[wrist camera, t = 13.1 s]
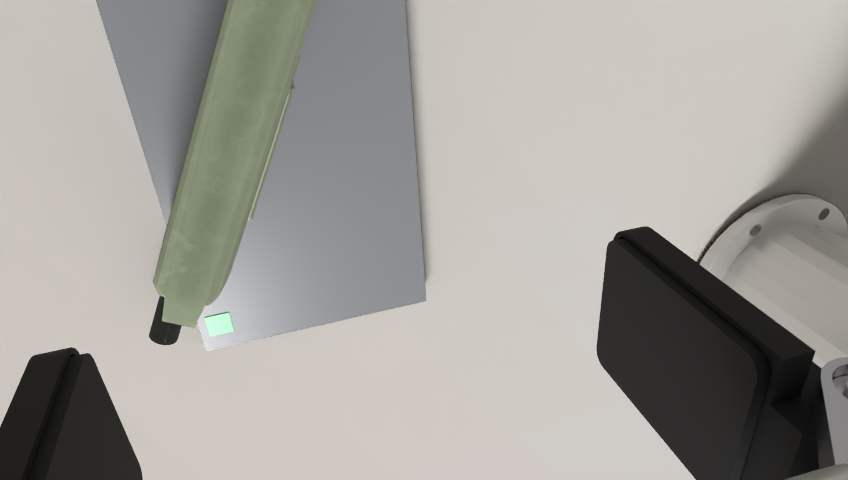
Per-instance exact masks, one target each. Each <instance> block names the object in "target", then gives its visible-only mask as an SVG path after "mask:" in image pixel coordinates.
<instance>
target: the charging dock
mask: <svg viewBox="0 0 848 480" xmlns="http://www.w3.org/2000/svg"><path fill="white" fill-rule="evenodd" d="M226 1H227V0H96V2H97V5H98V8H99V12H100V15H101V18H102V21H103V24H104V27H105V31H106V34H107V37H108V40H109V43H110V47H111V50H112V53H113V56H114V59H115V63H116V66H117V69H118V72H119V75H120V78H121V82H122V85H123V88H124V91H125V94H126V98H127V101H128V104H129V107H130V110H131V113H132V117H133V120H134V123H135V126H136V129H137V133H138V136H139V139H140V142H141V145H142V148H143V152H144V155H145V158H146V161H147V164H148V168H149V171H150V174H151V177H152V180H153V183H154V187H155V190H156V193H157V196H158V199H159V203H160V206H161V209H162V212H163V215H164V218H165V222H166V225H167V224H168V220H169V216H170V213H171V208H172V204H173V200H174V196H175V193H176V189H177V185H178V181H179V178H180V174H181V170H182V166H183V163H184V159H185V155H186V151H187V148H188V144H189V140H190V136H191V133H192V129H193V125H194V121H195V118H196V114H197V110H198V106H199V103H200V99H201V95H202V91H203V88H204V84H205V80H206V76H207V73H208V69H209V65H210V61H211V58H212V54H213V50H214V46H215V43H216V39H217V35H218V31H219V28H220V24H221V20H222V16H223V13H224V9H225V5H226ZM293 85H294V87H295V91H294V92H293V94H292V97H291V101H290V104H289V107H288V110H287V113H286V116H285V119H284V122H283V125H282V129H281V132H280V135H279V138H278V141H277V144H276V147H275V150H274V153H273V156H272V160H271V163H270V166H269V169H268V172H267V175H266V178H265V181H264V184H263V188H262V191H261V194H260V197H259V200H258V203H257V206H256V209H255V212H254V219H252V220H250V221H249V222H247V224H246V227H245V230H244V233H243V236H242V239H241V242H240V245H239V249H238V252H237V254H236V257H235V260H234V263H233V267H232V270H231V272H230V275H229V277H228V280H227V282H226V284H225V286H224V288H223V290H222V291H221V293H220V295H219V297H218V298H217V299H216V300H215V301H214V302H212V303H211V304H210V305H208V306H205V307H204V309H203V311H202V313H201V315H200V317H199V319H198V321H197V324H198V327H199V330H200V333H201V336H202V339H203V343H204V346H205V349H206V351H210V350H214V349H219V348H223V347H228V346H232V345H236V344H241V343H245V342H249V341H254V340H258V339H262V338H267V337H271V336H275V335H280V334H284V333H288V332H293V331H297V330H302V329H306V328H310V327H315V326H319V325H323V324H328V323H332V322H336V321H341V320H345V319H349V318H354V317H358V316H363V315H367V314H371V313H376V312H380V311H384V310H389V309H393V308H397V307H402V306H406V305H410V304H415V303H419V302H423V301H426V289H425V275H424V261H423V247H422V233H421V219H420V205H419V191H418V177H417V163H416V149H415V135H414V121H413V107H412V93H411V79H410V65H409V51H408V37H407V23H406V9H405V0H316V3H315V7H314V10H313V13H312V16H311V19H310V23H309V26H308V29H307V32H306V35H305V39H304V42H303V45H302V48H301V52H300V59H299V62H298V65H297V68H296V72H295V75H294V78H293Z"/></svg>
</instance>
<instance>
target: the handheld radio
mask: <svg viewBox="0 0 848 480" xmlns="http://www.w3.org/2000/svg"><path fill="white" fill-rule="evenodd" d="M315 3H316V0H227V1H226V5H225V9H224V13H223V16H222V20H221V24H220V28H219V31H218V35H217V39H216V43H215V46H214V50H213V54H212V58H211V61H210V65H209V69H208V73H207V76H206V80H205V84H204V88H203V91H202V95H201V99H200V103H199V106H198V110H197V114H196V118H195V121H194V125H193V129H192V133H191V136H190V140H189V144H188V148H187V151H186V155H185V159H184V163H183V166H182V170H181V174H180V178H179V181H178V185H177V189H176V193H175V196H174V200H173V204H172V208H171V213H170V216H169V220H168V224H167V228H166V232H165V236H164V240H163V244H162V248H161V252H160V256H159V260H158V264H157V268H156V272H155V276H154V280H153V283H154V286H155V288H156V290H157V293H158V294H159V295H160V297H159V301H158V305H157V308H156V312H155V315H154V319H153V323H152V326H151V330H150V334H149V337H150V339H151V340H152V341H153V342H155V343H157V344H161V345H171V344H174V343H175V342H176V341H177V339H178V336H179V333H180V329H181V326H182V325H183V326H187V327H192V328H195V326H196V324H197V321H198V319H199V317H200V315H201V313H202V311H203V309H204V307H205V306H208V305H210V304H211V303H212V302H214V301H215V300H216V299H217V298H218V297H219V295H220V293H221V291H222V290H223V288H224V286H225V284H226V282H227V280H228V277H229V275H230V272H231V270H232V267H233V263H234V260H235V257H236V254H237V252H238V249H239V245H240V242H241V239H242V236H243V233H244V230H245V227H246V224H247V222H249V221H250V220H252V219H254V212H255V209H256V206H257V203H258V200H259V197H260V194H261V191H262V188H263V184H264V181H265V178H266V175H267V172H268V169H269V166H270V163H271V160H272V156H273V153H274V150H275V147H276V144H277V141H278V138H279V135H280V132H281V129H282V125H283V122H284V119H285V116H286V113H287V110H288V107H289V104H290V101H291V97H292V94H293V92H294V91H295V87H294V85H293V78H294V75H295V72H296V68H297V65H298V62H299V59H300V52H301V48H302V45H303V42H304V39H305V35H306V32H307V29H308V26H309V23H310V19H311V16H312V13H313V10H314V7H315Z"/></svg>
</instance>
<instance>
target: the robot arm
mask: <svg viewBox="0 0 848 480" xmlns="http://www.w3.org/2000/svg"><path fill="white" fill-rule="evenodd" d="M597 355H598V359H599V361H600V363H601V365H602V366H603V368H604V369H605V370H606V371H607V373H608V374H609V375H610V376H611V378H612V379H613V380H614V381H615V382H616V384H617V385H618V386H619V387H620V388H621V390H622V391H623V392H624V393H625V394H626V396H627V397H628V398H629V399H630V400H631V402H632V403H633V404H634V405H635V407H636V408H637V409H638V410H639V411H640V413H641V414H642V415H643V416H644V417H645V419H646V420H647V421H648V422H649V423H650V425H651V426H652V427H653V428H654V429H655V431H656V432H657V433H658V434H659V435H660V437H661V438H662V439H663V440H664V442H665V443H666V444H667V445H668V446H669V448H670V449H671V450H672V451H673V452H674V454H675V455H676V456H677V457H678V458H679V460H680V461H681V462H682V463H683V464H684V466H685V467H686V468H687V469H688V471H689V472H690V473H691V474H692V475H693V477H694V478H695V479H696V480H848V227H847V222H846V220H845V218H844V216H843V215H842V213H841V211H839V210H838V209H837V208H836V207H835V206H834V205H833V204H831V203H829V202H827V201H824V200H822V199H820V198H818V197H815V196H811V195H807V194H791V195H787V196H782V197H778V198H775V199H773V200H770V201H768V202H765V203H763V204H761V205H759V206H757V207H756V208H754V209H752V210H751V211H749V212H747V213H745V214H744V215H743V216H742V217H740V218H739V219H738V220H736V221H735V222H734V223H733V224H731V225H730V226H729V227H728V228H727V229H726V230H725V231H724V232H723V233H722V234H721V235H720V236H719V237H718V238H717V239H716V241H715V242H714V243H713V245H712V246H711V247H710V248H709V250H708V251H707V252H706V254H705V255H704V257H703V259H702V260H701V262H700V264H698V263H697V262H696V261H694V260H693V259H691V258H690V257H689V256H687V255H686V254H685V253H683V252H682V251H681V250H679V249H678V248H677V247H675V246H674V245H673V244H671V243H670V242H669V241H667V240H666V239H665V238H663V237H662V236H661V235H659V234H658V233H657V232H655V231H654V230H653V229H651V228H649V227H639V228H635V229H630V230H625V231H620V232H618V233H617V234H616V235H615V237H614V240H613V241H611V242H609V244H608V246H607V253H606V262H605V272H604V282H603V291H602V301H601V311H600V320H599V330H598V340H597ZM0 480H142V472H141V468H140V465H139V462H138V460H137V458H136V455H135V453H134V451H133V449H132V446H131V444H130V442H129V439H128V437H127V435H126V432H125V430H124V428H123V426H122V423H121V421H120V419H119V416H118V414H117V412H116V410H115V407H114V405H113V403H112V400H111V398H110V396H109V393H108V391H107V389H106V387H105V384H104V382H103V380H102V377H101V375H100V373H99V371H98V368H97V366H96V364H95V361H94V359H93V358H92V356H91V355H90V354H88V353H86V354H81V355H80V354H79V352H78V351H77V350H76V349H75V348H72V347H71V348H67V349H62V350H57V351H52V352H48V353H43V354H38V355H34V356H32V357H31V359H30V360H29V362H28V364H27V367H26V369H25V371H24V374H23V376H22V378H21V381H20V383H19V385H18V387H17V390H16V392H15V394H14V397H13V399H12V401H11V404H10V406H9V408H8V411H7V413H6V415H5V417H4V420H3V422H2V424H1V427H0Z"/></svg>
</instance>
